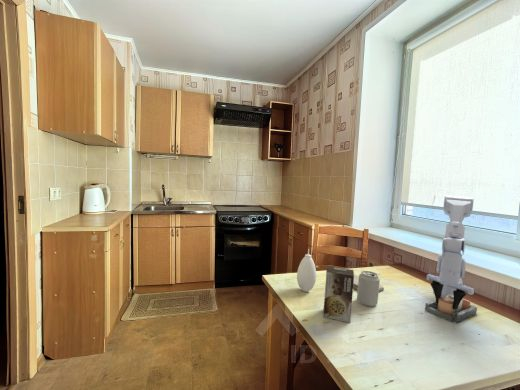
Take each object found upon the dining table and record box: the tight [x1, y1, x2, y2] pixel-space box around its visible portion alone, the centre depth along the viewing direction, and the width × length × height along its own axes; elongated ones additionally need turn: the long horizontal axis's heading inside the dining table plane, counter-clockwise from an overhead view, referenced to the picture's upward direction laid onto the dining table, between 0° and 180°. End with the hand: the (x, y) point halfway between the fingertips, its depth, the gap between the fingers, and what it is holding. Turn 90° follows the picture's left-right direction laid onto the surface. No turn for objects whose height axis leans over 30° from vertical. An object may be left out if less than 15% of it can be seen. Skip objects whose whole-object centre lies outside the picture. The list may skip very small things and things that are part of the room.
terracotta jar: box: [436, 296, 455, 317], centre depth 95 cm, size 5×5×6 cm
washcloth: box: [353, 273, 385, 293], centre depth 117 cm, size 12×18×3 cm, turn 34°
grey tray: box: [424, 296, 478, 324], centre depth 97 cm, size 17×10×2 cm, turn 120°
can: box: [356, 270, 381, 308], centre depth 99 cm, size 8×8×12 cm
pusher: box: [447, 293, 471, 311], centre depth 100 cm, size 2×7×4 cm, turn 30°
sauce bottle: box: [296, 248, 317, 293], centre depth 107 cm, size 8×8×18 cm
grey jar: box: [446, 294, 463, 314], centre depth 98 cm, size 5×5×6 cm
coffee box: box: [322, 265, 355, 324], centre depth 88 cm, size 9×6×16 cm
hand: (446, 305), depth 95 cm, fingers closed on terracotta jar, 5 cm apart
